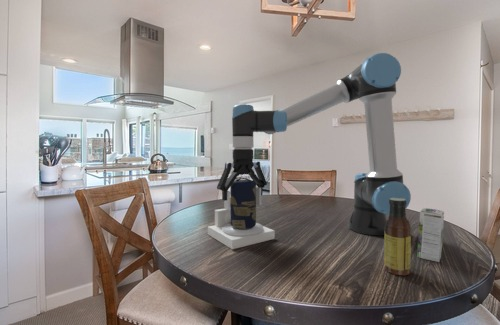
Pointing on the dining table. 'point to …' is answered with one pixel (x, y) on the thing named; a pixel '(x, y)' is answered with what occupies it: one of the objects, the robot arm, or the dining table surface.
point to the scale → (237, 231)
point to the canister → (243, 203)
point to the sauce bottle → (397, 239)
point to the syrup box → (430, 234)
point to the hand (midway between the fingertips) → (243, 206)
